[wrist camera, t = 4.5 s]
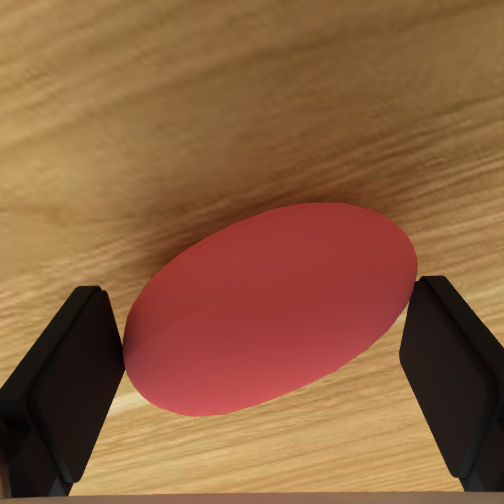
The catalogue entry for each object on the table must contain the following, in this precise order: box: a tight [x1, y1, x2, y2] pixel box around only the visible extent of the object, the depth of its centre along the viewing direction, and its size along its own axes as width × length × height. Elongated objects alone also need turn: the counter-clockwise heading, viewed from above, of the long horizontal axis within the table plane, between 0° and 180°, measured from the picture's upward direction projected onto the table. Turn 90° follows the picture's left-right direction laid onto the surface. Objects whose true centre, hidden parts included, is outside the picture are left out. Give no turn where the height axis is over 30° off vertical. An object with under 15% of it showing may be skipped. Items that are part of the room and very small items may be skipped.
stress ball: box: [122, 203, 417, 417], centre depth 11 cm, size 5×9×6 cm, turn 110°
